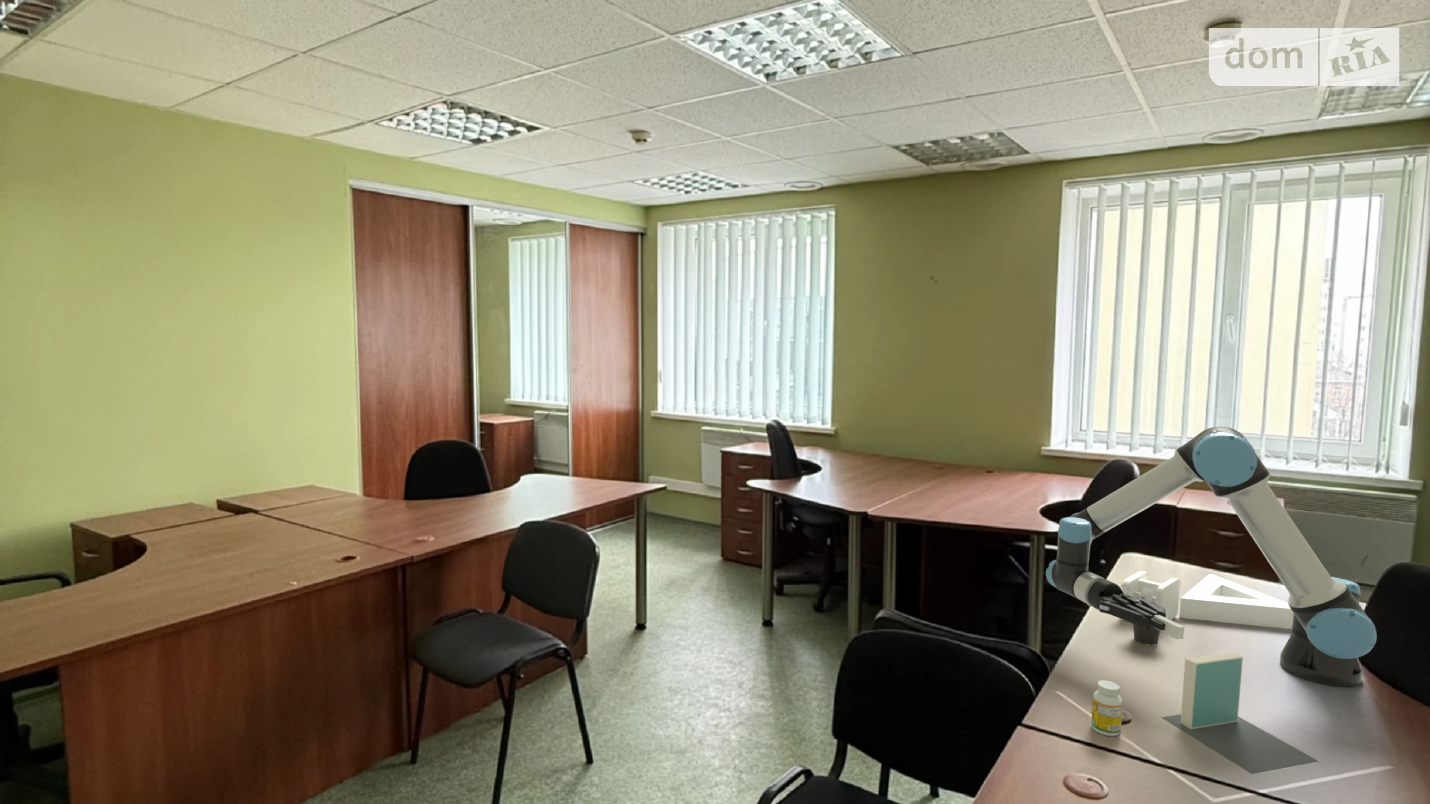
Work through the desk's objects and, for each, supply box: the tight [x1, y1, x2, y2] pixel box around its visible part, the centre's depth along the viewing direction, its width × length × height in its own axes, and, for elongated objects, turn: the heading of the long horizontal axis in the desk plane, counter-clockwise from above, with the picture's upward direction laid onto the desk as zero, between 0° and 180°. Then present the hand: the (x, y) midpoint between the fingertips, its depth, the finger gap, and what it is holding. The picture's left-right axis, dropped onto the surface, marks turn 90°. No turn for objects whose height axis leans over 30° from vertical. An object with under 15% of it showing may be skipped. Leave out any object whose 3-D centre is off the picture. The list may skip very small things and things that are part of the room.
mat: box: [1161, 713, 1319, 775], centre depth 147 cm, size 20×16×1 cm
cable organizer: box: [1120, 570, 1181, 621], centre depth 208 cm, size 15×11×12 cm
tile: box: [1180, 651, 1244, 729], centre depth 152 cm, size 2×12×14 cm, turn 104°
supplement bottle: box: [1091, 679, 1124, 737], centre depth 151 cm, size 5×5×10 cm
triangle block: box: [1178, 573, 1293, 630], centre depth 217 cm, size 30×26×6 cm
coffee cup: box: [1132, 602, 1166, 646], centre depth 193 cm, size 8×8×10 cm
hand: (1180, 633), depth 159 cm, fingers closed
